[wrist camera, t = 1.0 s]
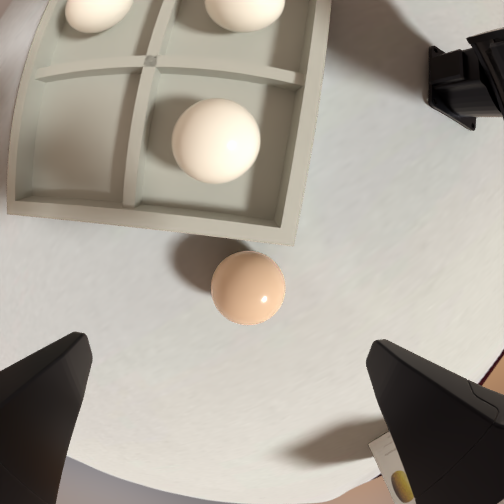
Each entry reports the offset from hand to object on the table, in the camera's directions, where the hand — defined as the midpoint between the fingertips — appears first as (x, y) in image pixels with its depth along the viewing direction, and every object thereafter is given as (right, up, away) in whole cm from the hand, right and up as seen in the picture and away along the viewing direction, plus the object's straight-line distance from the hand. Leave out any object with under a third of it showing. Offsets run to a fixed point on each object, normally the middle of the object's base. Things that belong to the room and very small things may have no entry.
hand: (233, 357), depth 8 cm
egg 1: (-10, +20, +4) cm, 22 cm away
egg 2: (0, +19, +6) cm, 20 cm away
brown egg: (0, +1, +13) cm, 13 cm away
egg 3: (-2, +10, +9) cm, 13 cm away
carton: (-6, +15, +7) cm, 18 cm away
